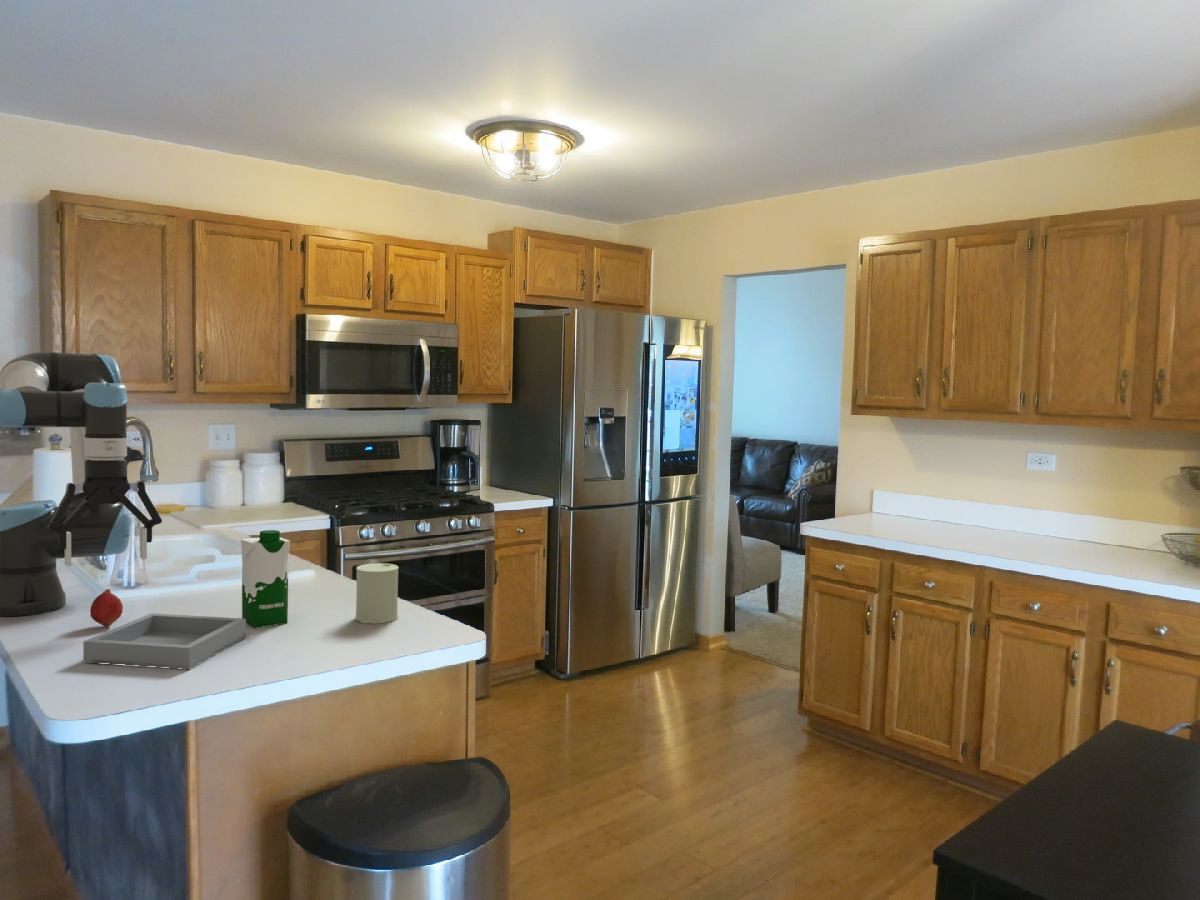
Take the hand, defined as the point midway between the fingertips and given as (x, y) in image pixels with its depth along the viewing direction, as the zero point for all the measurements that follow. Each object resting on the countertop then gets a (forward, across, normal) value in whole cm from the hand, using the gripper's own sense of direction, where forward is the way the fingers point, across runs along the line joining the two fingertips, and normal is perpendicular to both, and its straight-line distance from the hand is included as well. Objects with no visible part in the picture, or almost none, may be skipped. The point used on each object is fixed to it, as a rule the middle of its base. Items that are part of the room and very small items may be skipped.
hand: (106, 561), depth 175 cm
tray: (+14, +6, -23) cm, 28 cm away
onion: (+14, 0, 0) cm, 14 cm away
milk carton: (+14, +28, -13) cm, 34 cm away
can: (+14, +49, -23) cm, 56 cm away
